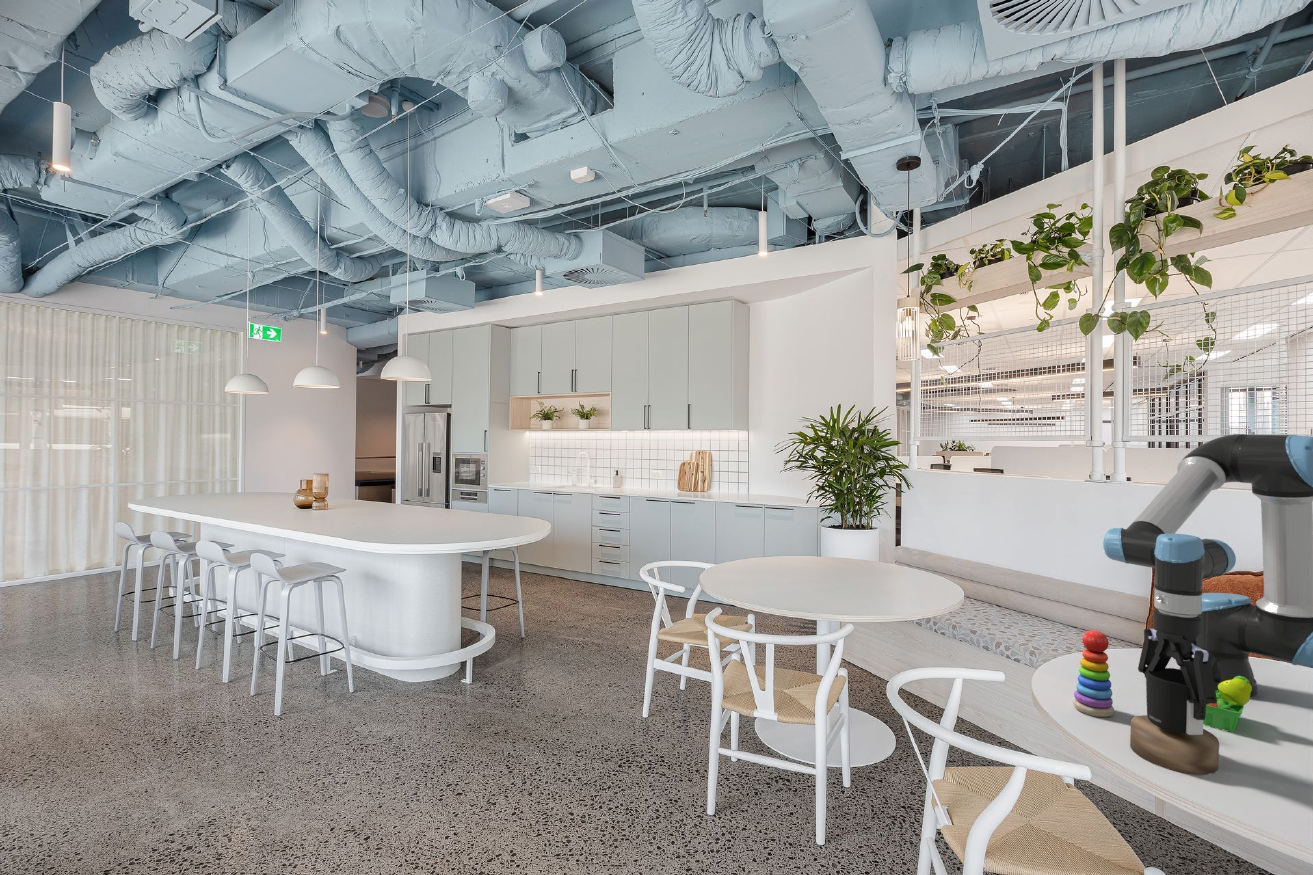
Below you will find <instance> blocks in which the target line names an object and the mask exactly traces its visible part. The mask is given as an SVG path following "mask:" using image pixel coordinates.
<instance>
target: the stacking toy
mask: <svg viewBox="0 0 1313 875" xmlns="http://www.w3.org/2000/svg"><path fill="white" fill-rule="evenodd" d="M1082 644H1083V646H1084V647H1085V648H1086V649H1083V651H1082V653H1081V654H1082V657H1083V658H1081V659H1080V660H1079V661H1080V662H1079V665H1081V666H1080V667H1079V668H1078V672H1079V674H1078V675H1077V681H1078V682H1077V683H1076V690H1075V691H1074V693H1073V695H1074V699H1073V701H1072V704H1073V707H1074V708H1075V709H1077V710H1078V711H1079V712H1080V713H1082V714H1084V715H1085V714H1086V715H1087V716H1092V717H1097V718H1108V717H1111V716H1113V715H1114V714H1115V709H1114V708H1115V707H1114V706H1113V703H1114V701H1113V699H1112V696H1113V690H1112V682H1111V680H1110V678H1111V674H1110V671H1109V667H1110V666H1109V664H1108V663H1107V661H1108V659H1109V656H1108V654H1107V653H1106V652H1105V651H1106V650H1108V647H1109V638H1108V637H1107V636H1106V635H1105V634H1104V633H1103V632H1101V631H1099V630H1095V629H1094V630H1093V629H1091V630H1087V631H1086V632H1085V633H1084V634H1083V636H1082Z"/></svg>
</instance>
